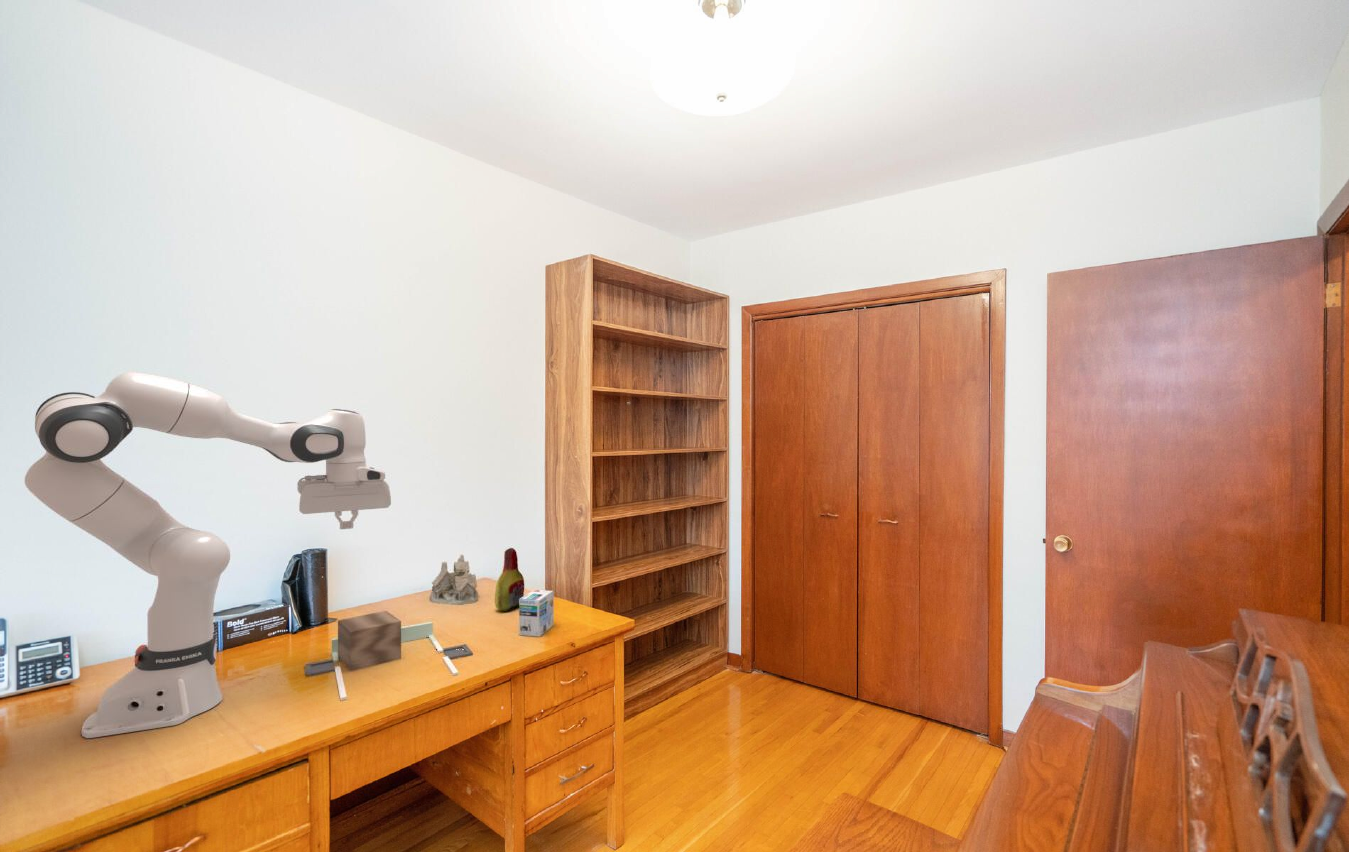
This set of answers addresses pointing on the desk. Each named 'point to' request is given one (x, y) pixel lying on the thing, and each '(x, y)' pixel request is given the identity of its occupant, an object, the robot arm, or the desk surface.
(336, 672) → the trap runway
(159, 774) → the desk surface
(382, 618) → the walnut block
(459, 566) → the ceramic cottage
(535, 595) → the light bulb box
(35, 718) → the desk surface
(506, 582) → the bottle
